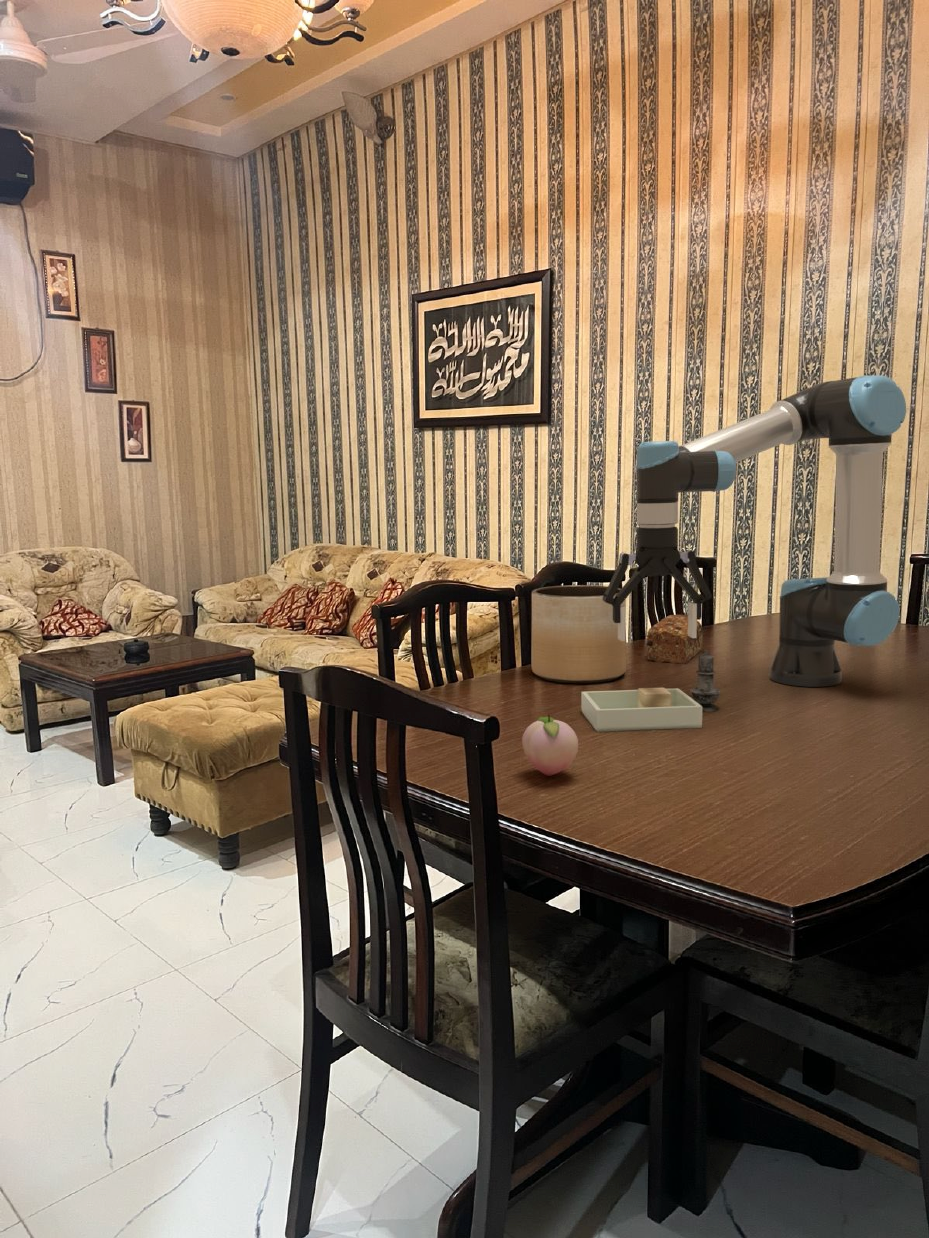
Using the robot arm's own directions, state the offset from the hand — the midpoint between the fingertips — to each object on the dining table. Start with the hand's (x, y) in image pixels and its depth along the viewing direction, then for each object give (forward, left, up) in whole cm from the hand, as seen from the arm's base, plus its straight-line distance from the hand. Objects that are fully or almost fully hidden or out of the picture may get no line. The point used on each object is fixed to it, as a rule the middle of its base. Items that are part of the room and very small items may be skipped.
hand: (656, 638), depth 170 cm
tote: (+3, 0, -16) cm, 16 cm away
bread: (-21, -58, -16) cm, 64 cm away
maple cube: (0, 0, -15) cm, 15 cm away
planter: (+7, -40, -16) cm, 44 cm away
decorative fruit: (+25, +31, -16) cm, 43 cm away
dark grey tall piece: (-12, -6, -16) cm, 21 cm away
